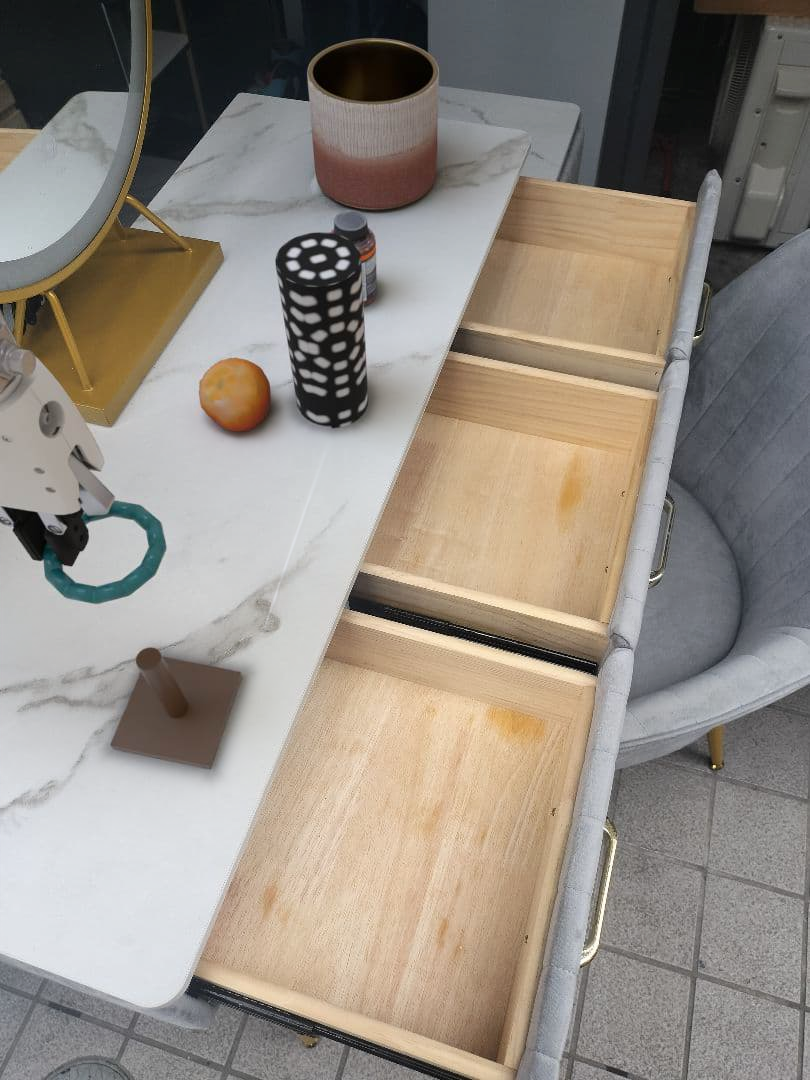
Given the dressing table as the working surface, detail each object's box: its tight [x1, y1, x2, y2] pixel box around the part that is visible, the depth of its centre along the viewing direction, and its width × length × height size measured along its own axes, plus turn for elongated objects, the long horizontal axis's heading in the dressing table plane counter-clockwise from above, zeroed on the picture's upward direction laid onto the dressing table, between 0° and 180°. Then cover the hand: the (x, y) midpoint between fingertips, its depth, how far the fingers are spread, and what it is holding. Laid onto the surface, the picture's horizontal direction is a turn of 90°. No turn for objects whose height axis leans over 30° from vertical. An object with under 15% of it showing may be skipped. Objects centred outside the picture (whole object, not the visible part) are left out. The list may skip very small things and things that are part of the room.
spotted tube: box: [274, 231, 369, 429], centre depth 87 cm, size 8×8×20 cm
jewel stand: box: [110, 647, 243, 770], centre depth 69 cm, size 9×9×11 cm
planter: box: [306, 37, 440, 211], centre depth 114 cm, size 18×18×16 cm
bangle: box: [42, 499, 168, 605], centre depth 58 cm, size 8×8×1 cm
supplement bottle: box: [329, 209, 378, 308], centre depth 102 cm, size 6×6×11 cm
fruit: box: [198, 357, 271, 432], centre depth 92 cm, size 8×8×8 cm
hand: (61, 546), depth 59 cm, fingers closed on bangle, 1 cm apart
